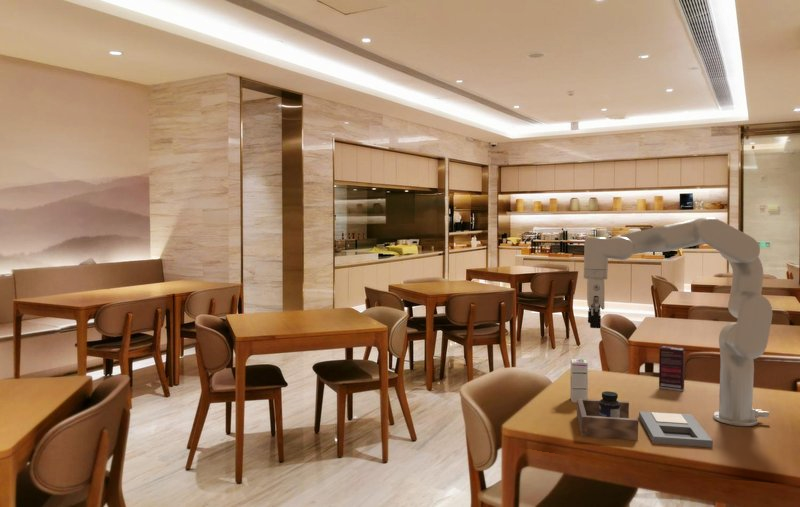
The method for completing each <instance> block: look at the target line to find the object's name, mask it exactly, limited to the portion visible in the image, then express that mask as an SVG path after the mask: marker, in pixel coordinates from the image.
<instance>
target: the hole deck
mask: <svg viewBox="0 0 800 507" xmlns="http://www.w3.org/2000/svg"><path fill="white" fill-rule="evenodd" d="M638 418H639V420H640V422H641V423H642V425H643V427H644V429H645V431H646V432H648V433H647V435H648V434H649V435H648V436H649V439H650V440H651V442H652V444H659V445H673V446H687V447H701V448H702V447H703V448H713V447H714V445H713V443H714V442H713V441H714V440H713V439H712V437H711V436H710V435H709V434H708V433H707V431H706V430H705V429H704V428H703V427H702V426H701V424H700V423H699V421H697V419H696V418H695V417H694V415H693V414H691V413H678V412H675V413H674V412H660V411H658V412H657V411H647V410H646V411H645V410H643V411H642V410H639V411H638Z"/></svg>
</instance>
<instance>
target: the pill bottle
mask: <svg viewBox="0 0 800 507" xmlns="http://www.w3.org/2000/svg"><path fill="white" fill-rule="evenodd" d="M618 396H619V394H618V393H617V392H615V391H602V392H601V398H602V399H599V400H600V402H599V416H601V417H616V418H619V416H620V403H619V402H618V401H619V400H617V399H618V398H619V397H618Z"/></svg>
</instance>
